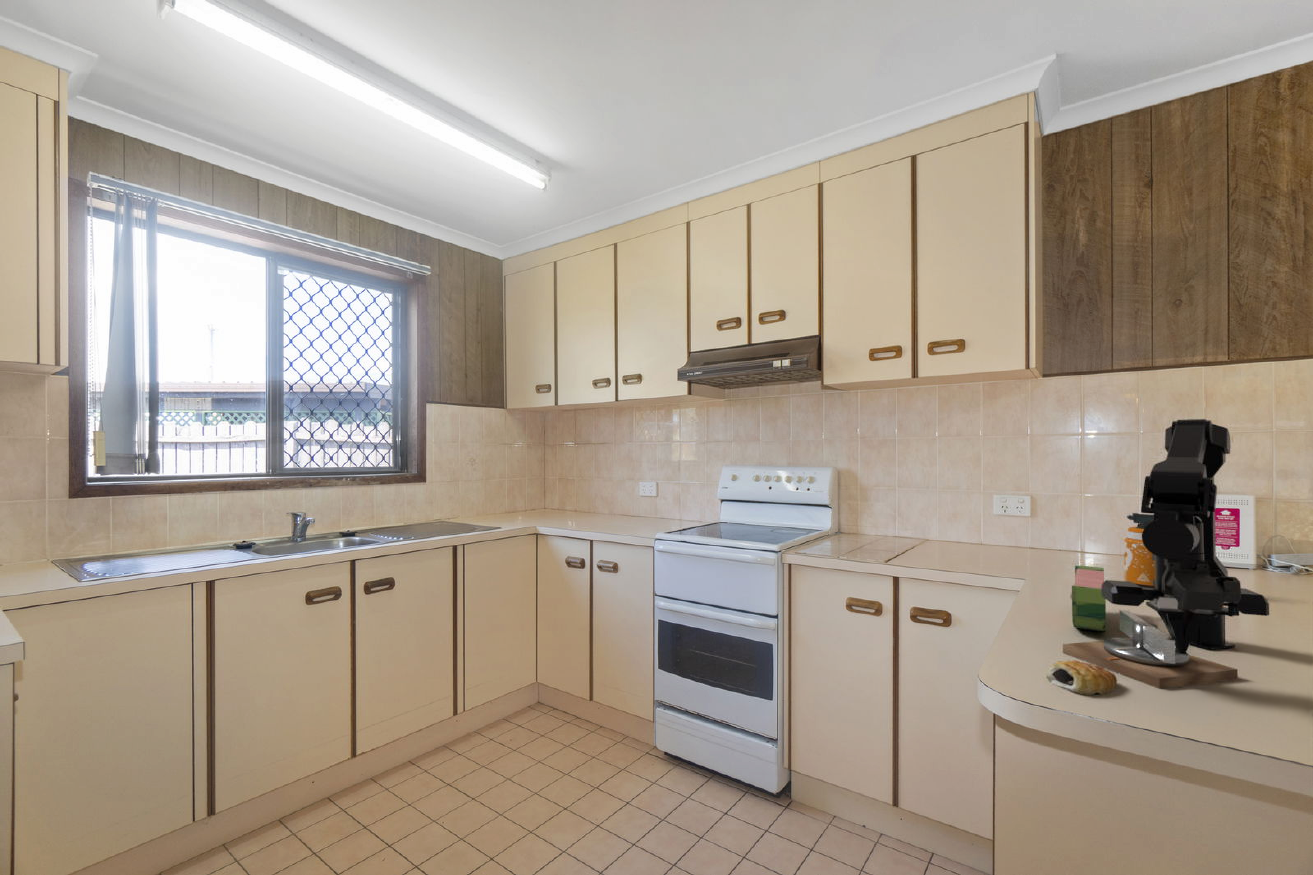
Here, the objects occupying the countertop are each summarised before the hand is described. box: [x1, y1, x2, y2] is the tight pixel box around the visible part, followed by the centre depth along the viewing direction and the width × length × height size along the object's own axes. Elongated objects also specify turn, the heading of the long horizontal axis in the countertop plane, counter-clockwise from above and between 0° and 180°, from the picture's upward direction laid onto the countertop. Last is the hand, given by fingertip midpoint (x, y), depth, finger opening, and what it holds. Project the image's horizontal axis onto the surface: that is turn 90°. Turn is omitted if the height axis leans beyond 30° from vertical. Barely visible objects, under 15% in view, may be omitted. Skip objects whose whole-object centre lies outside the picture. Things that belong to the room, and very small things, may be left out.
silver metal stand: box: [1104, 609, 1190, 666], centre depth 99 cm, size 11×16×5 cm
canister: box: [1123, 512, 1156, 589], centre depth 150 cm, size 9×11×20 cm
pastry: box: [1045, 660, 1118, 696], centre depth 90 cm, size 9×7×4 cm
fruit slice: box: [1070, 565, 1107, 632], centre depth 122 cm, size 26×6×10 cm, turn 144°
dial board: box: [1062, 639, 1239, 689], centre depth 99 cm, size 16×16×2 cm
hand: (1181, 653), depth 91 cm, fingers closed
